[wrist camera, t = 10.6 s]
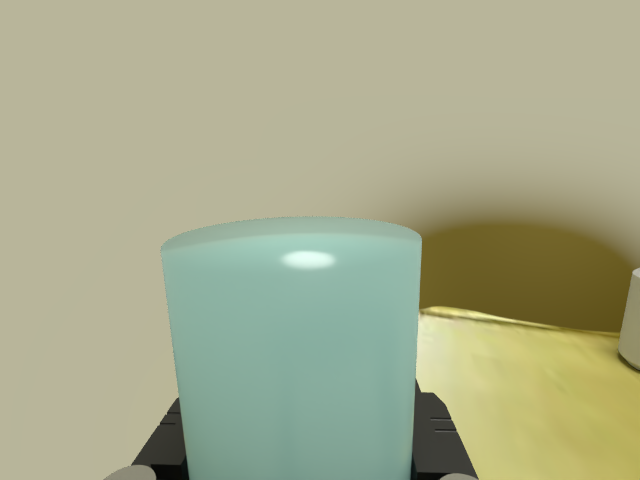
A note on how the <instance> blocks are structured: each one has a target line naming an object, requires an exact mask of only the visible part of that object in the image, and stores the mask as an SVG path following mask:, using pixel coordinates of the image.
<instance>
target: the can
mask: <svg viewBox="0 0 640 480" xmlns="http://www.w3.org/2000/svg"><path fill="white" fill-rule="evenodd" d="M618 351H619V352H620V354H621V355H622V356H623V357H624V358H625V359H626V361H627V362H628V363H629V364H630V365H632V366H633V367H635V368H636V369H638V370H640V268H638V269H636V270H634V271H633V273H632V278H631V284H630V289H629V294H628V299H627V304H626V309H625V314H624V320H623V325H622V330H621V335H620V340H619V345H618Z"/></svg>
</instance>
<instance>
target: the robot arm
mask: <svg viewBox="0 0 640 480" xmlns="http://www.w3.org/2000/svg"><path fill="white" fill-rule="evenodd" d="M104 480H189V472H188V464H187V456H186V448H185V440H184V432H183V425H182V417H181V409H180V401H179V397H178V398H177V399H176V400H175V402H174V403H173V404H172V406H171V407H170V409H169V410H168V412H167V415H165V416H164V418H163V419H162V421H161V422H160V425H159V426H157V428H156V430H155V431H154V432H153V434H152V435H151V437H150V438H149V440H148V441H147V443H146V444H145V445H144V447H143V448H142V450H141V452H140V453H139V454H138V456H137V457H136V459H135V460H134V462H133V463H132V465H131V466H128V467H125V468H122V469H120V470H118V471H116V472H114V473H112V474H111V475H109V476H108V477H106V478H105V479H104ZM411 480H479V479H478V477H477V474H476V472H475V470H474V468H473V466H472V463H471V461H470V459H469V457H468V454H467V452H466V450H465V448H464V445H463V443H462V441H461V439H460V436H459V434H458V432H457V431H456V427H455V425H454V423H453V421H452V420H451V416H450V414H449V412H448V410H447V407H446V405H445V404H444V403H443V402H442V401H441V400H440V399H439V398H438V397H437V396H436V395H435V394H434V393H425V392H421V391H420V388H419V385H418V383H417V380H416V378H415V400H414V422H413V443H412V465H411Z"/></svg>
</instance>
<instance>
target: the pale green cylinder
mask: <svg viewBox="0 0 640 480" xmlns="http://www.w3.org/2000/svg"><path fill="white" fill-rule="evenodd" d="M421 247H422V239H421V237H420V235H419V234H418V233H416V232H415V231H413V230H411V229H409V228H406V227H403V226H400V225H396V224H392V223H387V222H381V221H375V220H368V219H358V218H345V217H281V218H280V217H279V218H265V219H254V220H244V221H236V222H230V223H223V224H218V225H213V226H208V227H203V228H199V229H195V230H191V231H188V232H185V233H182V234H180V235H177V236H175V237H173V238H171V239H169V240H168V241H166V242H165V243H164V244H163V245H162V246H161V257H162V265H163V272H164V281H165V289H166V297H167V305H168V313H169V320H170V329H171V337H172V345H173V353H174V360H175V369H176V376H177V385H178V393H179V401H180V409H181V417H182V425H183V432H184V440H185V448H186V456H187V464H188V472H189V480H411V465H412V443H413V422H414V400H415V378H416V356H417V334H418V313H419V290H420V269H421Z"/></svg>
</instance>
